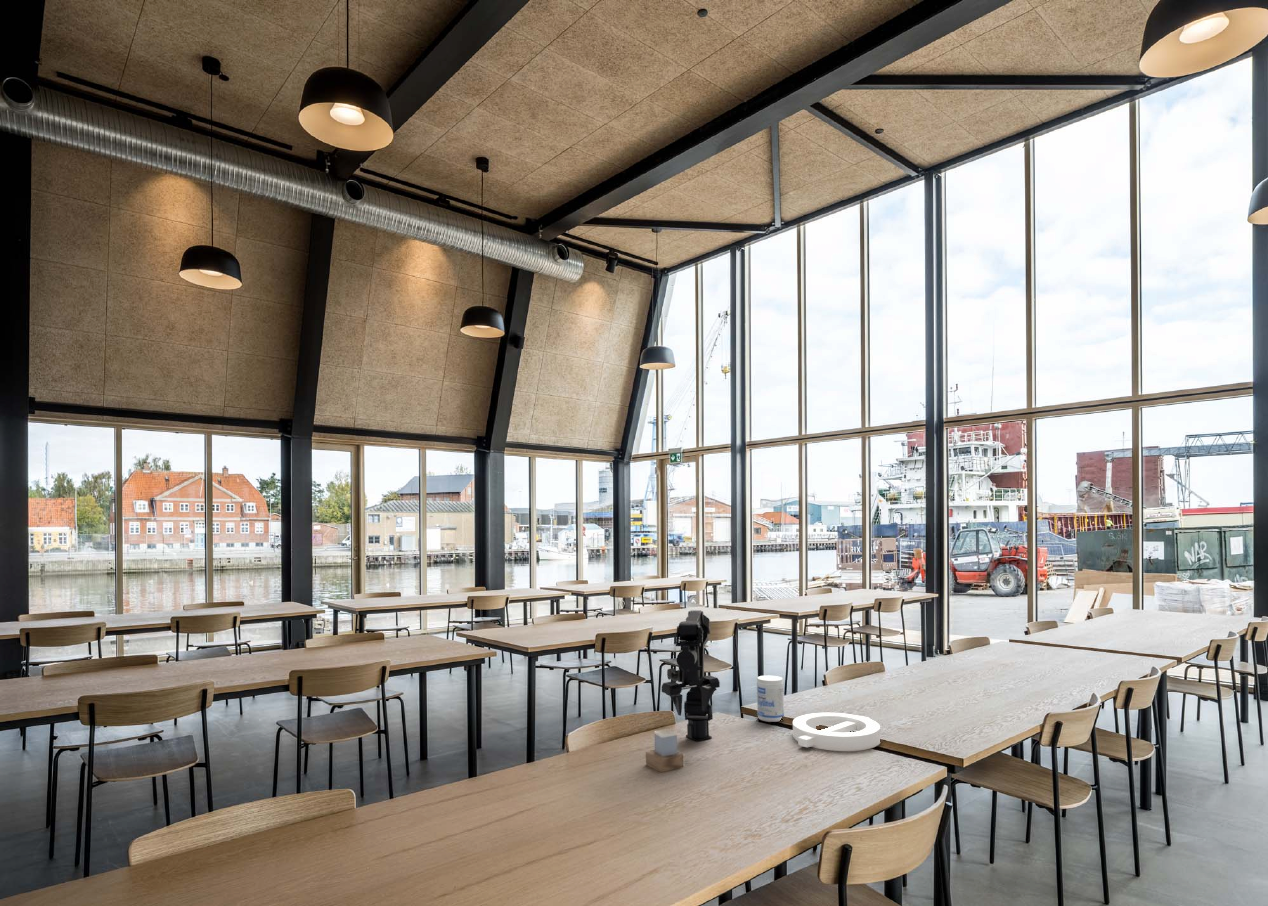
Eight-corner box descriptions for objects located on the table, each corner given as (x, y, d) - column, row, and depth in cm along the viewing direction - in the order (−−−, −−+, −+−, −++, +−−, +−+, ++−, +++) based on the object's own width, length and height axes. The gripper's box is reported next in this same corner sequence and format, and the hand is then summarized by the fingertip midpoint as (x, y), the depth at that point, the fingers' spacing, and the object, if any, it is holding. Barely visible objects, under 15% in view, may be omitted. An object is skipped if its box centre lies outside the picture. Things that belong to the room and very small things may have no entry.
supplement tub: (755, 721, 256) (754, 679, 257) (760, 714, 264) (758, 674, 266) (782, 723, 252) (780, 681, 254) (786, 716, 261) (784, 675, 263)
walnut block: (668, 760, 216) (667, 747, 217) (683, 768, 210) (682, 754, 210) (646, 765, 212) (645, 751, 213) (660, 773, 206) (660, 759, 206)
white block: (669, 748, 215) (668, 728, 216) (677, 753, 210) (677, 733, 211) (654, 751, 213) (653, 731, 213) (662, 756, 208) (662, 735, 209)
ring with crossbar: (869, 726, 247) (869, 712, 248) (890, 752, 220) (889, 736, 220) (788, 726, 250) (788, 712, 251) (799, 751, 222) (798, 736, 223)
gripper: (700, 654, 236) (701, 702, 235) (652, 661, 227) (653, 711, 226) (719, 660, 226) (721, 710, 225) (670, 668, 217) (671, 720, 216)
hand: (691, 712), depth 223 cm, fingers open, 9 cm apart
